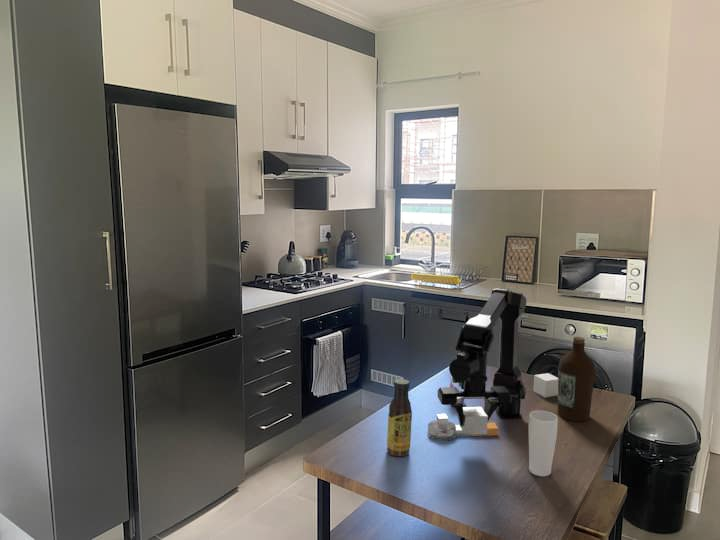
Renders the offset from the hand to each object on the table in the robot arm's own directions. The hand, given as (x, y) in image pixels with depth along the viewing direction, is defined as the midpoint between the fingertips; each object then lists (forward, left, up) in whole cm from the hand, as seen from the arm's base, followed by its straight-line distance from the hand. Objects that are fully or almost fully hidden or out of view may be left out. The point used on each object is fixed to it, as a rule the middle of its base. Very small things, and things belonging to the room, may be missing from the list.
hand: (472, 425), depth 144 cm
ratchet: (0, -10, -7) cm, 12 cm away
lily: (-3, -32, -7) cm, 33 cm away
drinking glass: (-14, +12, -7) cm, 20 cm away
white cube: (-37, -38, -7) cm, 54 cm away
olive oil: (-38, -20, -7) cm, 44 cm away
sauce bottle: (+20, 0, -7) cm, 21 cm away
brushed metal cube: (0, 0, -1) cm, 1 cm away
